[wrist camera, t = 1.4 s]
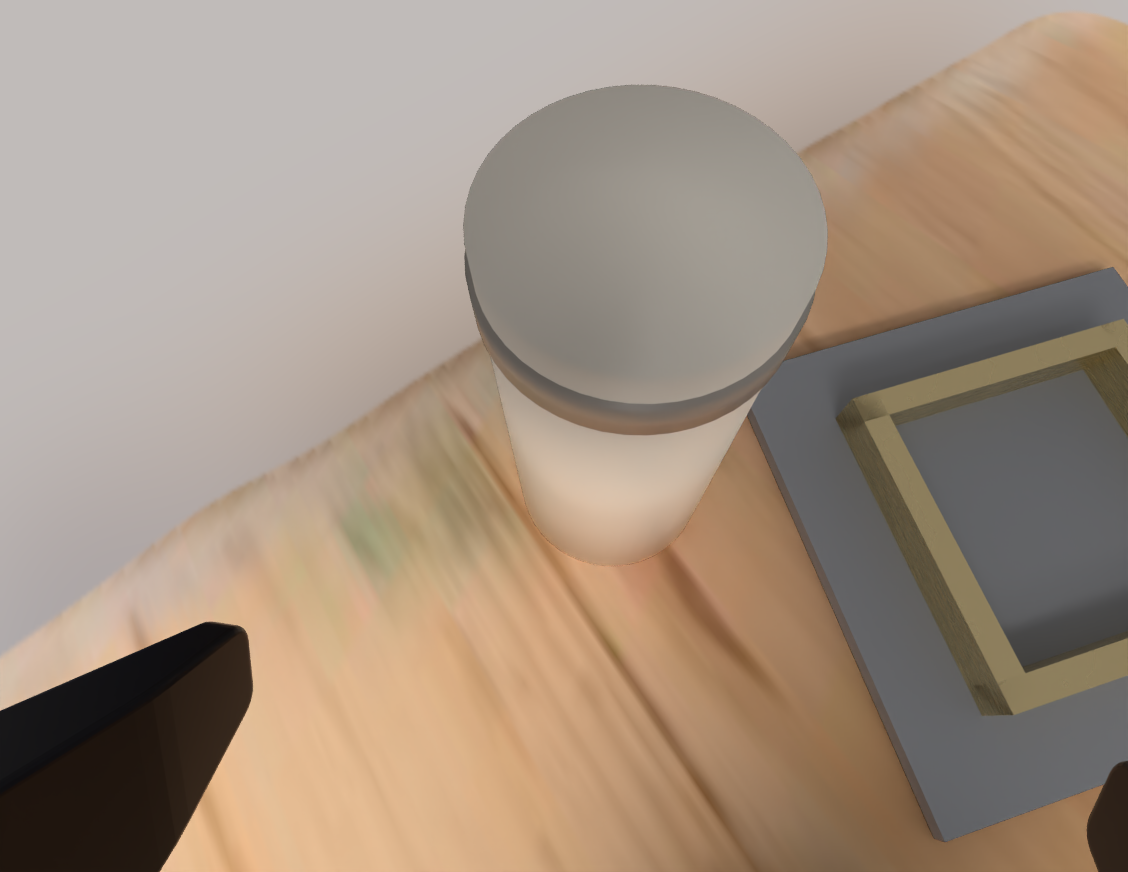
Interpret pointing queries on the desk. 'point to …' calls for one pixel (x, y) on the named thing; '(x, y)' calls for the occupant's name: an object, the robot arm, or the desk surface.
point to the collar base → (974, 537)
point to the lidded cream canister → (636, 301)
